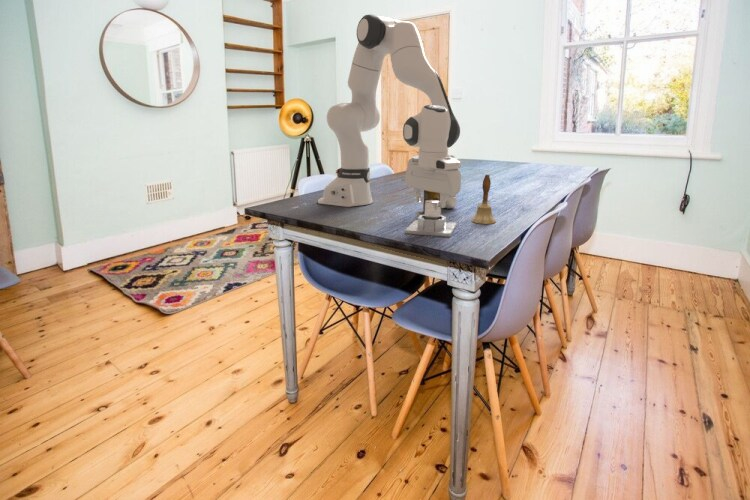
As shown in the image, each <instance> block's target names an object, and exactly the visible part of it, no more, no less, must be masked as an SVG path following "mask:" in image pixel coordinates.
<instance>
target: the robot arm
mask: <svg viewBox="0 0 750 500" xmlns="http://www.w3.org/2000/svg"><path fill="white" fill-rule="evenodd" d="M358 21H359V22H358V24H357V27H356V38H357V42H358V43H357V46H356V48H355V51H354V54H353V57H352V61H351V67H350V70H349V75H348V79H347V87H348V88H349V89H350V91H351V102H342V103H341V102H340V103H337V104H335V105H332V106H330V107H329V109H328V111H327V115H326V122H327V125H328V127H329V128H330V130H332V132H333V133H334V134H335V137H336V139H337V141H338V146H339V150H340V151H339V152H340V167H339V168H338V169H336V170H335V174H336V175H337V177H336V178H334V179H333V180H331V181H330V182H329V183H328V184H327V185H325V187H324V189H323V196H322V197H320V198H318V200H317V203H318V204H319V205H321V204H322V205H330V206H338V207H347V208H350V207H357V206H365V205H370V204H372V203H373V202H374V200H373V198H372V192H371V188H370V187H371V186H370V180H371V172H370V171H371V170H370V169H371V168H370V167H369V165H370V164H369V161H370V160H369V159H370V158H369V147H368V145H367V144H366V143H365V142H364V140H363V137H362V134H361V132H368V131H371V130H372V129H374V128H376V127H377V126H378V125H379V123H380V119H381V115H380V111H379V109H378V108H377V102H376V101H377V100H376V98H377V89H378V84H379V80H380V76H381V72H382V68H383V64H384V60H385V57H386V56H387V55H389V54H390V55H389V56H390V62H391V68H392V71H393V74H394V76H395V77H396V79H398V81H399V82H401V83H402V84H404V85H406V86H409V87H412V88H413V89H414V88H415V89H417V90H418V91H421V92H423V93H424V94H425V95H426V96H427V97H428V98H429V100H430V103H431V104H428V105H424V106H422V108H421V111H420V112H419V113H417V114H415V115H414V116H410V117H408V118H407V119H406V121H405V122H404V124H403V127H402V129H403V131H402V135H403V136H402V137H403V140H404V141H405V143H406V144H408V145H409V147H415V148H416V147H417V148H418V156H417V157H418V158H416V157H411V158H410V159H409V160H408V161H407V167H406V171H405V179H404V183H405V186H406V187H408V188H413V193H414V195H415V201H416V203H419V204H420V203H424V196H422V194H421V191H422V190H423V191H424V190H428V191H432V192H437V193H440V194H441V193H442V197H443V198H442V200H441V201H439V203H438V204H439V205H438V207H441V209H445V208H444V207H445V206H446V201H447V200H448V198H449V195H456V196H457V195H458V194H459V193H460V192H461V188H462V187H461V186H462V173H461V171H460V170H459V169H460V168H461V166H462V163H461V161H460V160H458V159H456V158H455V159H454V158H453V157H451V156H452V155H451V156H449V155H450V154H449V148H450V147H452V146H454V145H455V143H457V141H458V139H459V137H460V136H461V135H460V134H461V127H460V124H459V121H458V120H457V118H456V116H455V113H454V112H453V110H452V107H451V104H450V101H449V98H448V95H447V93H446V90H445V86H444V85H443V82H442V79H441V77H440V75H439V73H438V72H437V71H436V70H435V69H434V68H433V67H432V66H431V65H430V63H429V61H428V59H427V57H426V54H425V49H424V44H423V41H422V39H421V35H420V33H419V30H418V28H417V27H416V25H415V24H414V23H413V22H411V21H407V20H406V21H401V20H399V19H396V18H393V17H386V16H382V15H381V16H380V15H379V16H378V15H377V14H366V15H363V16H362V17H361V19H360V20H358Z"/></svg>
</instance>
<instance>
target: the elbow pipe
mask: <svg viewBox="0 0 750 500" xmlns="http://www.w3.org/2000/svg"><path fill="white" fill-rule="evenodd" d="M438 203H439V201H438V200H427V201H425V218H424V219H427V220H438V219H441V215H442V208H441V207H438V205H439V204H438Z"/></svg>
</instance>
